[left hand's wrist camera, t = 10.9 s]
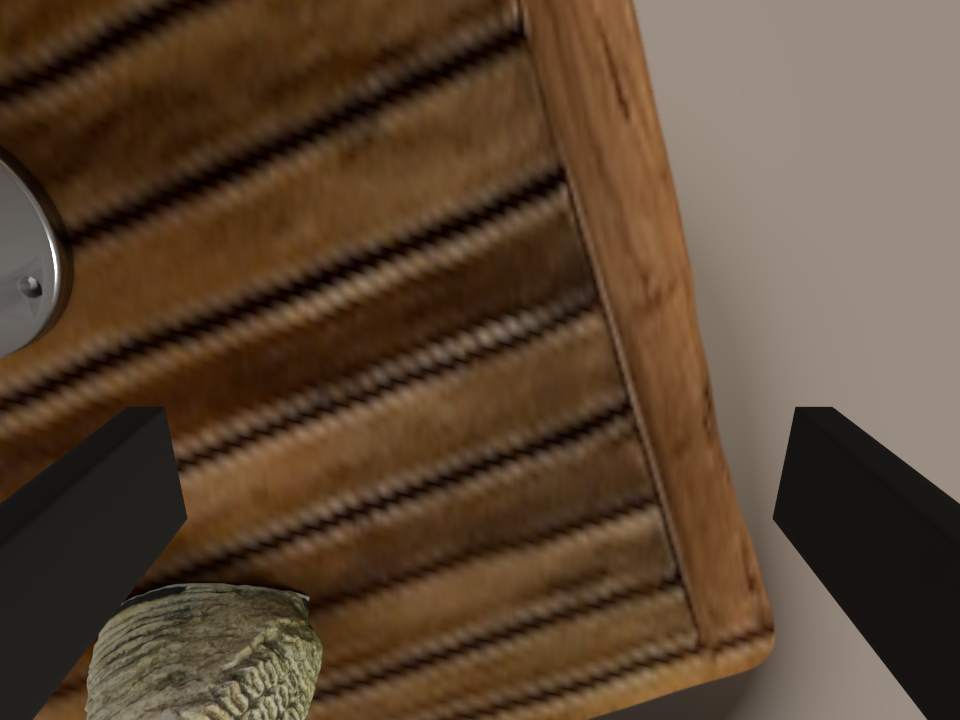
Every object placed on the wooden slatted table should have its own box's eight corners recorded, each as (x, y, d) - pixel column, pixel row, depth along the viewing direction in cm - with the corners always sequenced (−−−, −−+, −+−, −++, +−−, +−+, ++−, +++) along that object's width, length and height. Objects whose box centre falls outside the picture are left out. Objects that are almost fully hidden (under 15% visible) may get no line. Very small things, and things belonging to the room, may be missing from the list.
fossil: (349, 633, 50) (298, 828, 36) (148, 676, 52) (24, 878, 37) (312, 549, 47) (240, 725, 33) (99, 597, 49) (-56, 785, 34)
